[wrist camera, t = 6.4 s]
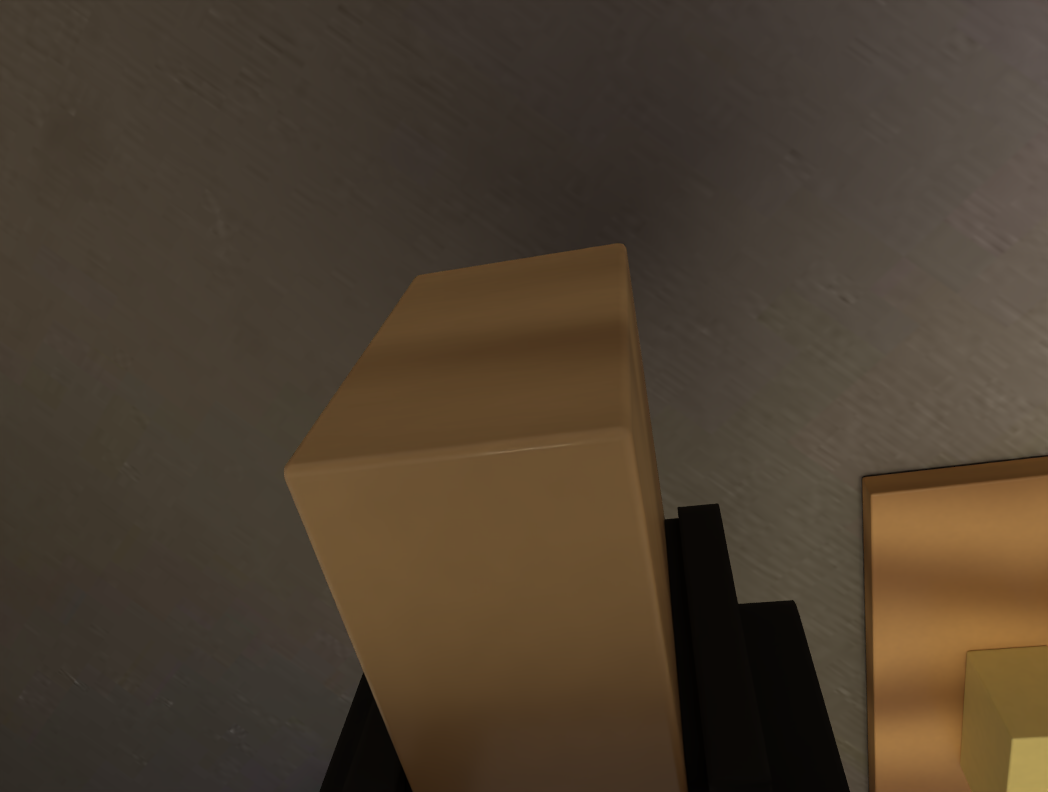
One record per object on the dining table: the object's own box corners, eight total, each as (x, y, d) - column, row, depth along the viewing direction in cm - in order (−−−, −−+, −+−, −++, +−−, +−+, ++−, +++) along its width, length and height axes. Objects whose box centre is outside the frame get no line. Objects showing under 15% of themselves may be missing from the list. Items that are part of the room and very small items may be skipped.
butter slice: (966, 650, 26) (1012, 739, 23) (1047, 644, 26) (1105, 735, 23) (959, 764, 29) (999, 858, 26) (1032, 761, 28) (1082, 856, 25)
